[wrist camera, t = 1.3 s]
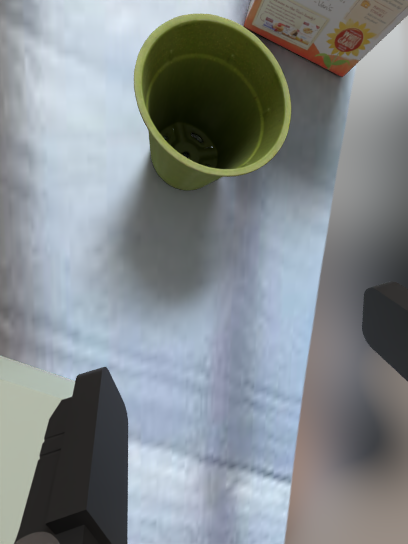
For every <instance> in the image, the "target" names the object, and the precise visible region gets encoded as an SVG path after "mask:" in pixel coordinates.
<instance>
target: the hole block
mask: <svg viewBox="0 0 408 544" xmlns="http://www.w3.org/2000/svg"><path fill="white" fill-rule="evenodd" d="M74 386H75V381H74V380H71V379H68V378H65V377H62V376H59V375H56V374H53V373H50V372H47V371H44V370H41V369H38V368H35V367H32V366H29V365H26V364H23V363H20V362H18V361H15V360H12V359H9V358H6V357H3V356H0V544H14V542H15V540H16V537H17V534H18V531H19V528H20V524H21V520H22V517H23V513H24V509H25V506H26V502H27V498H28V495H29V491H30V487H31V484H32V480H33V477H34V473H35V469H36V466H37V462H38V460H40V456H39V455H40V451H41V447H42V444H43V442H44V436H45V433H46V429H47V425H48V422H49V418H50V417H51V415H52V414H53V412H54V411H55V409H56V408H57V406H58V405H59V403H60V402H61V400H63V399H66V398H69V397H72V395H73V390H74Z"/></svg>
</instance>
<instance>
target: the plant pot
mask: <svg viewBox="0 0 408 544" xmlns="http://www.w3.org/2000/svg"><path fill="white" fill-rule="evenodd" d="M134 90H135V96H136V100H137V105H138V108H139V111H140V114H141V116H142V119H143V121H144V123H145V125H146V126H147V128H148V130H149V140H150V151H151V159H152V163H153V166H154V168H155V170H156V172H157V173H158V175H159V176H160V177H161V178H162V179H163V180H164V181H165V182H166V183H167V184H169V185H170V186H172V187H174V188H177V189H181V190H195V189H199V188H202V187H204V186H206V185H208V184H210V183H211V182H213V181H215V180H217V179H219V178H221V177H230V176H239V175H244V174H247V173H250V172H252V171H255V170H257V169H259V168H260V167H262V166H264V165H265V164H266V163H268V162H269V161H270V160H271V159H272V158H273V157H274V156H275V155H276V154H277V152H278V151H279V150H280V148H281V146H282V145H283V143H284V141H285V139H286V136H287V134H288V130H289V125H290V119H291V101H290V94H289V89H288V85H287V82H286V79H285V77H284V74H283V72H282V70H281V67H280V66H279V64H278V62H277V60H276V59H275V57H274V56H273V54H272V53H271V52H270V50H269V49H268V48H267V47H266V46H265V45H264V44H263V43H262V42H261V40H260V39H259V38H258V37H257V36H255V35H254V34H253V33H251V32H250V31H249V30H247V29H246V28H244V27H243V26H241V25H239V24H238V23H236V22H233V21H231V20H229V19H225V18H222V17H219V16H216V15H211V14H188V15H182V16H178V17H176V18H173V19H171V20H169V21H167V22H166V23H164V24H162V25H161V26H159V27H158V28H157V29H156V30H155V31H153V32H152V33H151V35H150V36H149V37H148V38H147V40H146V41H145V43H144V44H143V46H142V48H141V50H140V52H139V54H138V58H137V61H136V65H135V71H134ZM173 129H174V130H173ZM191 133H195V134H197V135H198V136H200V137H201V138H202V139H203V142H199V141H198V140H197V139H195V138H194V137H192V136H191ZM164 136H167V137H168V140H167V141H166V140H165V139H164ZM210 146H213V148H206V147H210ZM184 152H187V153H188V154H189V158H186V157H185V156H183V153H184ZM207 165H209V166H210V167H207Z"/></svg>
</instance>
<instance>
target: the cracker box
mask: <svg viewBox="0 0 408 544" xmlns="http://www.w3.org/2000/svg"><path fill="white" fill-rule="evenodd" d="M407 15H408V0H251V2H250V6H249V9H248V13H247V16H246V20H245V23H244V27H245V28H247V29H249V30H251V31H253V32H255V33H257V34H259V35H261V36H263V37H265V38H267V39H269V40H271V41H273V42H274V43H276V44H278V45H280V46H282V47H284V48H286V49H288V50H290V51H292V52H294V53H296V54H298V55H300V56H302V57H304V58H306V59H308V60H310V61H312V62H314V63H316V64H318V65H319V66H321V67H323V68H325V69H327V70H329V71H331V72H333V73H335V74H337V75H339V76H341V77H343V76H344V75H345V74H346V73H347V72H348V71H350V70H351V69H352V68H353V67H354V66H355V65H356V64H357V63H358V62H359V61H360V60H361V59H362V58H363V57H364V56H365V55H366V54H367V53H368V52H369V51H371V50H372V49H373V48H374V47H375V45H377V44H378V43H379V42H380V41H381V40H382V39H383V38H384V37H385V36H386V35H387V34H388V33H390V32H391V31H392V30H393V29H394V28H395V27H396V26H397V25H398V24H399V23H400V22H401V21H402V20H403V19H404V18H405V17H406V16H407Z"/></svg>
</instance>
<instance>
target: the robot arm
mask: <svg viewBox="0 0 408 544" xmlns="http://www.w3.org/2000/svg"><path fill="white" fill-rule="evenodd" d="M363 306H364V307H363V322H362V331H363V335H364V337H365V339H366V341H367V343H368V344H369V345H370V347H371V348H372V349H373V350H375V351H376V352H377V353H378V354H379V355H380V356H381V357H382V358H383V359H384V360H385V361H386V362H387V363H388V364H390V365H391V366H392V367H393V368H394V369H395V370H396V371H397V372H398V373H399V374H400V375H401V376H402V377H404V378H405V379H406V380H407V381H408V289H407V288H405V287H403V286H402V285H400V284H398V283H396V282H392V281H391V282H387V283H384V284H381V285H378V286H374V287H371V288H368V289H367V290H366V291H365V293H364V305H363ZM39 456H40V460H38V462H37V466H36V469H35V473H34V477H33V480H32V484H31V487H30V491H29V495H28V498H27V502H26V506H25V509H24V513H23V517H22V520H21V524H20V528H19V531H18V534H17V537H16V540H15V542H14V544H127V511H128V417H127V412H126V408H125V404H124V402H123V400H122V398H121V395H120V393H119V391H118V389H117V387H116V385H115V383H114V381H113V379H112V376H111V374H110V372H109V370H108V369H107V368H106V367H102V368H99V369H96V370H92V371H89V372H86V373H83V374H79V375H78V376H77V378H76V381H75V386H74V390H73V395H72V397H69V398H66V399H63V400H61V402H60V403H59V405H58V406H57V408H56V409H55V411H54V412H53V414H52V415H51V417H50V418H49V422H48V425H47V429H46V433H45V436H44V442H43V444H42V447H41V451H40V455H39Z"/></svg>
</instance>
